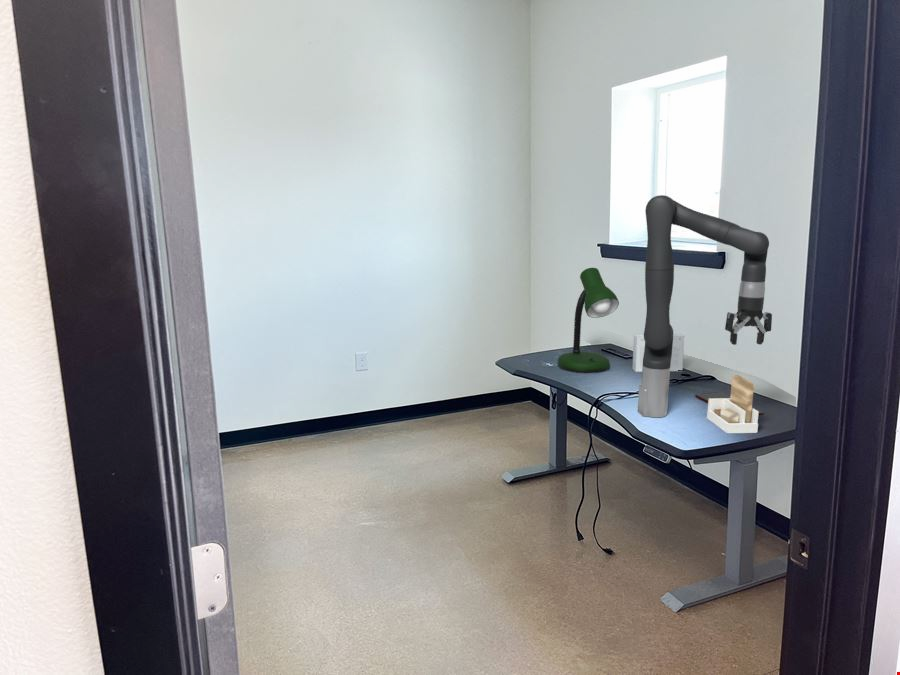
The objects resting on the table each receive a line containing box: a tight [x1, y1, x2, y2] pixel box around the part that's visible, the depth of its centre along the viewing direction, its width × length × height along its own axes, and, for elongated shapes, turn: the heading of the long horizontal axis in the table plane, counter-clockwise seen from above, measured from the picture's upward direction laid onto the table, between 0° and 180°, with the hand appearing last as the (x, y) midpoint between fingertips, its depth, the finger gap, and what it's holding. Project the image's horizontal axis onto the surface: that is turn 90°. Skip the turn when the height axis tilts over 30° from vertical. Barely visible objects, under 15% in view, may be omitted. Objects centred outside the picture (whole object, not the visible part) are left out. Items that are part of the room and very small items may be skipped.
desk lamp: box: [557, 267, 620, 374], centre depth 286 cm, size 31×23×45 cm
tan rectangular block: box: [730, 374, 755, 423], centre depth 217 cm, size 2×11×16 cm, turn 3°
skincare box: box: [632, 333, 685, 373], centre depth 287 cm, size 21×6×16 cm, turn 92°
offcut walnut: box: [714, 409, 721, 417], centre depth 222 cm, size 3×3×4 cm
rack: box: [706, 398, 759, 434], centre depth 218 cm, size 10×15×7 cm, turn 3°
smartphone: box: [694, 391, 765, 416], centre depth 240 cm, size 12×2×25 cm
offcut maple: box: [720, 408, 739, 422], centre depth 216 cm, size 3×5×3 cm
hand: (746, 344), depth 213 cm, fingers open, 8 cm apart
